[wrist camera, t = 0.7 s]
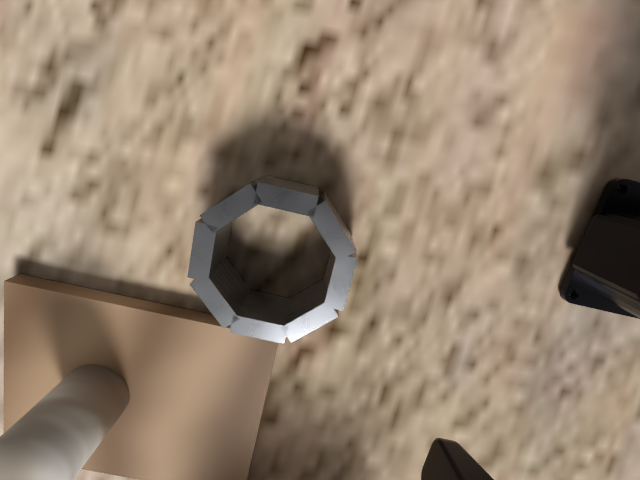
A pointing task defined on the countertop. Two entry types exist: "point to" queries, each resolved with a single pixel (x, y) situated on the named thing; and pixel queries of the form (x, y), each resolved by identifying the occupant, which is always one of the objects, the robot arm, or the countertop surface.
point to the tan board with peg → (125, 387)
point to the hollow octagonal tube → (262, 308)
